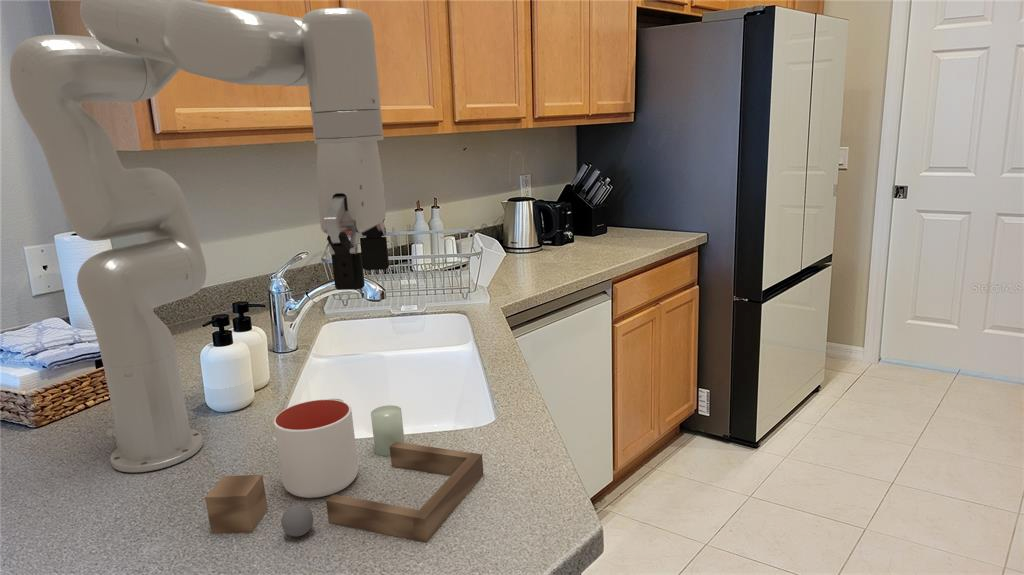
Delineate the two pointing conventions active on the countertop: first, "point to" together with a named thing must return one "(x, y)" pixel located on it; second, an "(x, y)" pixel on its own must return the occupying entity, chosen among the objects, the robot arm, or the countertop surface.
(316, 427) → the cup
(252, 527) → the walnut block
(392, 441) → the jar
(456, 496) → the bay
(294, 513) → the grey ball
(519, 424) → the countertop surface
